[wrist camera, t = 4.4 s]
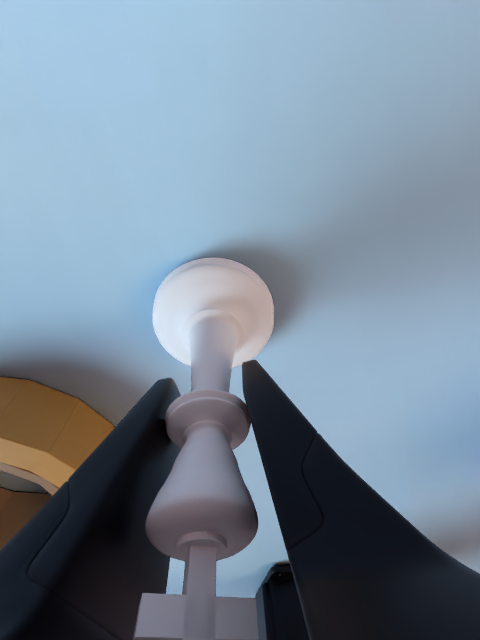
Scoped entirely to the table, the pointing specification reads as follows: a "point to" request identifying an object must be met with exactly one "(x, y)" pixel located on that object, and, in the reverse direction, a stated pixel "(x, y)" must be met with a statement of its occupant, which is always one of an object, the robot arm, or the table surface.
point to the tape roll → (41, 445)
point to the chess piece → (206, 448)
